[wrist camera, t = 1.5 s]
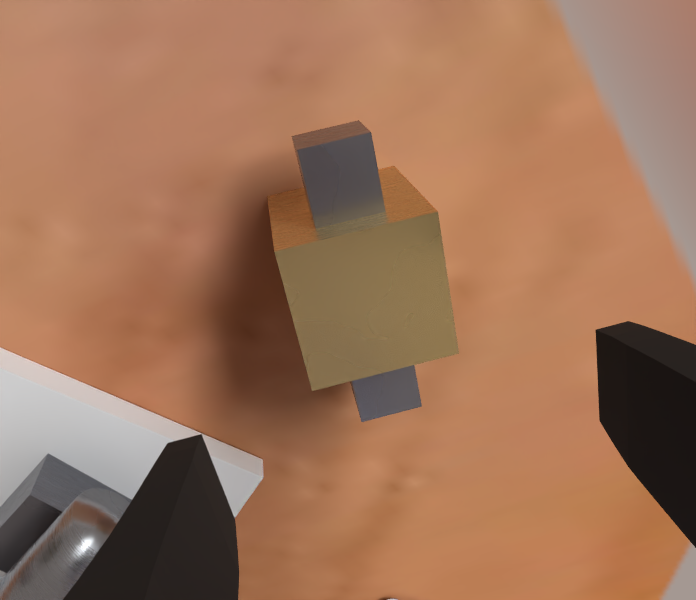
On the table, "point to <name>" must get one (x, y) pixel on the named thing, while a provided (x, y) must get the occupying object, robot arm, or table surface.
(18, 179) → the table surface
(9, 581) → the shaft
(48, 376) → the bench
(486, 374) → the table surface
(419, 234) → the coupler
